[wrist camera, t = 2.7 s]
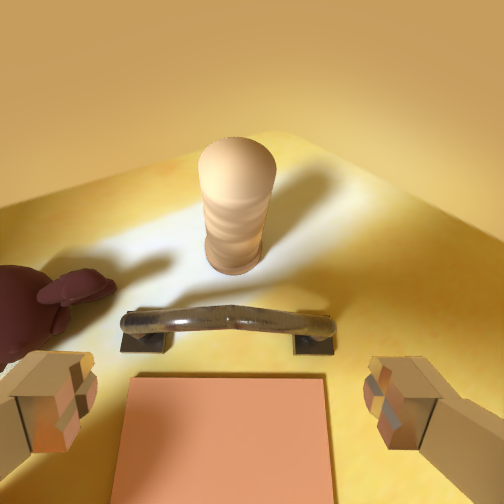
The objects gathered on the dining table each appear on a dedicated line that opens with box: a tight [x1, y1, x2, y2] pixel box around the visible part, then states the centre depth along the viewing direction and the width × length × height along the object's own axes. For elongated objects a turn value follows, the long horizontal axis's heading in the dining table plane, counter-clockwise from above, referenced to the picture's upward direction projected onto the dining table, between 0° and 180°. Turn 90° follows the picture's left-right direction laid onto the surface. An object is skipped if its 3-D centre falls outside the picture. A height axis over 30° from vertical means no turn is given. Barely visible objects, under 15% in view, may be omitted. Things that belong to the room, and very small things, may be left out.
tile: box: [110, 378, 334, 504], centre depth 20 cm, size 14×10×1 cm
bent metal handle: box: [120, 305, 337, 356], centre depth 20 cm, size 16×3×7 cm, turn 90°
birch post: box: [198, 137, 276, 275], centre depth 21 cm, size 5×5×11 cm
